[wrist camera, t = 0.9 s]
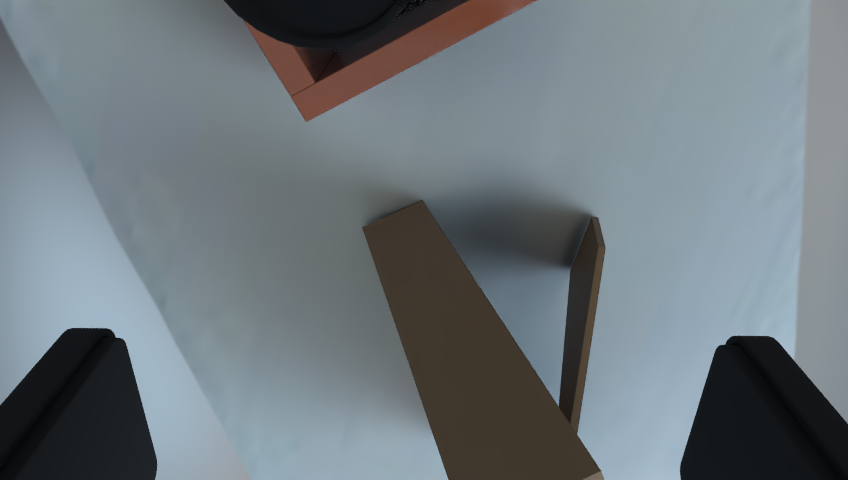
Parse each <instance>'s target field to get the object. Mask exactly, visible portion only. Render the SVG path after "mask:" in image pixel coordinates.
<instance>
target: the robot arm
mask: <svg viewBox="0 0 848 480" xmlns="http://www.w3.org/2000/svg"><path fill="white" fill-rule="evenodd" d="M156 471H157V459H156V455H155V451H154V447H153V443H152V440H151V436H150V432H149V429H148V425H147V421H146V417H145V413H144V409H143V406H142V402H141V398H140V394H139V391H138V387H137V383H136V379H135V376H134V372H133V368H132V364H131V361H130V357H129V353H128V349H127V346H126V343H125V341H124V340H123V339H121V338H116V337H115V335H114V333H113V332H112V331H111V330H110V329H106V328H105V329H103V328H101V329H100V328H71V329H68V330H66V331H65V332H64V333H63V334H62V335H61V336H60V337H59V338H58V340H57V341H56V342H55V343H54V344H53V345H52V347H51V348H50V349H49V350H48V351H47V352H46V353H45V354H44V356H43V357H42V358H41V359H40V360H39V362H38V363H37V364H36V365H35V366H34V367H33V368H32V370H31V371H30V372H29V373H28V374H27V375H26V376H25V378H24V379H23V380H22V381H21V382H20V383H19V384H18V386H17V387H16V388H15V389H14V390H13V391H12V393H11V394H10V395H9V396H8V397H7V398H6V399H5V401H4V402H3V403H2V404H1V405H0V480H155V477H156ZM680 475H681V480H848V424H847V423H846V421H845V420H844V419H843V418H842V417H841V416H840V414H839V413H838V412H837V411H836V410H835V408H834V407H833V406H832V405H831V404H830V403H829V401H828V400H827V399H826V398H825V397H824V396H823V394H822V393H821V392H820V391H819V390H818V389H817V387H816V386H815V385H814V384H813V382H812V381H811V380H810V379H809V378H808V377H807V375H806V374H805V373H804V372H803V371H802V370H801V368H800V367H799V366H798V365H797V364H796V362H795V361H794V360H793V359H792V358H791V357H790V355H789V354H788V353H787V352H786V351H785V349H784V348H783V347H782V346H781V345H780V344H779V342H778V341H776V340H775V339H774V338H772V337H769V336H733V337H730V338H729V339H728V340H727V342H726V344H725V345H720V346H718V347H717V349H716V351H715V353H714V357H713V360H712V363H711V366H710V370H709V373H708V376H707V380H706V383H705V386H704V389H703V393H702V396H701V399H700V402H699V406H698V409H697V412H696V416H695V419H694V422H693V425H692V429H691V432H690V435H689V438H688V442H687V445H686V448H685V452H684V455H683V458H682V461H681V466H680Z"/></svg>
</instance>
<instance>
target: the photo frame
mask: <svg viewBox="0 0 848 480" xmlns="http://www.w3.org/2000/svg"><path fill="white" fill-rule="evenodd" d="M362 228H363V231H364V234H365V237H366V240H367V243H368V246H369V249H370V251H371V254H372V257H373V260H374V263H375V266H376V269H377V272H378V275H379V278H380V281H381V284H382V286H383V289H384V292H385V295H386V298H387V301H388V304H389V307H390V310H391V313H392V316H393V319H394V322H395V324H396V327H397V330H398V333H399V336H400V339H401V342H402V345H403V348H404V351H405V354H406V357H407V360H408V362H409V365H410V368H411V371H412V374H413V377H414V380H415V383H416V386H417V389H418V392H419V395H420V398H421V400H422V403H423V406H424V409H425V412H426V415H427V418H428V421H429V424H430V427H431V430H432V433H433V435H434V438H435V441H436V444H437V447H438V450H439V453H440V456H441V459H442V462H443V465H444V468H445V471H446V473H447V476H448V479H449V480H604V478H603V476H602V473H601V470H600V469H599V467H598V466H597V464H596V463H595V461H594V460H593V458H592V457H591V455H590V454H589V452H588V451H587V449H586V448H585V446H584V445H583V443H582V441H581V440H580V438H579V437H578V435H577V432H578V426H579V419H580V412H581V406H582V399H583V393H584V386H585V380H586V373H587V366H588V360H589V353H590V347H591V340H592V334H593V327H594V320H595V314H596V307H597V301H598V294H599V288H600V281H601V274H602V268H603V261H604V255H605V244H604V240H603V236H602V232H601V228H600V224H599V220H598V218H597V217H593V216H592V217H591V219H590V222H589V224H588V227H587V229H586V232H585V234H584V237H583V240H582V242H581V245H580V247H579V250H578V252H577V255H576V257H575V260H574V262H573V265H572V267H571V270H570V282H569V293H568V305H567V317H566V329H565V341H564V352H563V364H562V376H561V388H560V400H559V407H558V405H557V404H556V402H555V401H554V399H553V398H552V396H551V395H550V393H549V391H548V390H547V388H546V387H545V385H544V384H543V382H542V381H541V379H540V378H539V376H538V375H537V373H536V372H535V370H534V369H533V367H532V366H531V364H530V363H529V361H528V360H527V358H526V357H525V355H524V354H523V352H522V351H521V349H520V348H519V346H518V345H517V343H516V342H515V340H514V338H513V337H512V335H511V334H510V332H509V331H508V329H507V328H506V326H505V325H504V323H503V322H502V320H501V319H500V317H499V316H498V314H497V313H496V311H495V310H494V308H493V307H492V305H491V304H490V302H489V301H488V299H487V298H486V296H485V295H484V293H483V292H482V290H481V288H480V287H479V285H478V284H477V282H476V281H475V279H474V278H473V276H472V275H471V273H470V272H469V270H468V269H467V267H466V266H465V264H464V263H463V261H462V260H461V258H460V257H459V255H458V254H457V252H456V251H455V249H454V248H453V246H452V245H451V243H450V242H449V240H448V238H447V237H446V235H445V234H444V232H443V231H442V229H441V228H440V226H439V225H438V223H437V222H436V220H435V219H434V217H433V216H432V214H431V213H430V211H429V210H428V208H427V207H426V205H425V204H424V202H423V201H419V202H417V203H415V204H413V205H411V206H408V207H406V208H404V209H402V210H399V211H397V212H395V213H393V214H391V215H388V216H386V217H384V218H382V219H379V220H377V221H375V222H373V223H370V224H368V225H366V226H364V227H362Z"/></svg>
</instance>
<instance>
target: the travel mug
mask: <svg viewBox="0 0 848 480" xmlns="http://www.w3.org/2000/svg"><path fill="white" fill-rule="evenodd" d="M224 1H225V2H226V3H227V4H228V5H229V7H230V8H231V9H232V10H233V11H234V12H235V13H236V14H237V15H238V16H239V17H241V18H242V19H243V20H245V21H246V22H247V23H248V24H250V25H251V26H252V27H254V28H255V29H256V30H258V31H260V32H262V33H264V34H266V35H268V36H270V37H271V38H273V39H275V40H277V41H280V42H284V43H287V44H290V45H293V46H297V47H301V48H311V49H320V50H323V49H334V48H344V47H347V46H350V45H354V44H357V43H360V42H363V41H365V40H367V39H369V38H371V37H373V36H375V35H376V34H378V33H380V32H382V31H383V30H384V29H385V28H386V27H387V26H388V25H389V24H390V22H391V21H392V20H393V19H394V18H395V17H396V16H397V15H398V14H399V13H400V12H401V11H402V10H403V8H404V7H405V6H406V5H407V3H408V2H410V1H411V0H224Z"/></svg>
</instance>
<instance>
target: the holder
mask: <svg viewBox="0 0 848 480" xmlns="http://www.w3.org/2000/svg"><path fill="white" fill-rule="evenodd" d="M535 1H536V0H429V1H427V2H425V3H423V4H421V5H420V6H418V7H416V8H414V9H412V10H411V11H409V12H407V13H405V14H403V15H401V16H400V17H398V18H396V19H394V20H392V21H391V22H390V24H389V25H388V26H387V27H386V28H385V29H384V30H383V31H382V32H380V33H378V34H376V35H375V36H373V37H371V38H369V39H367V40H365V41H363V42H360V43H357V44H354V45H350V46H347V47H344V48H342V49H340V50H338V51H336V50H335V48H334V49H323V50H320V49H311V48H301V47H297V46H293V45H290V44H287V43H284V42H280V41H277V40H275V39H273V38H271V37H270V36H268V35H266V34H264V33H262V32H260V31H258V30H256V29H255V28H254V27H252V26H251V25H250V24H248V23H247V22H246V21H245V20H243V21H244V22H245V24H246V26H247V27H248V29H249V31H250V32H251V34H252V35H253V37H254V39H255V40H256V42H257V43H258V45H259V47H260V48H261V50H262V51H263V53H264V55H265V56H266V58H267V59H268V61H269V63H270V64H271V66H272V68H273V69H274V71H275V72H276V74H277V76H278V77H279V79H280V80H281V82H282V84H283V85H284V87H285V88H286V90H287V92H288V93H289V95H290V96H291V98H292V100H293V102H294V103H295V105H296V106H297V108H298V110H299V111H300V113H301V114H302V116H303V118H304V119H305V121H306V122H307V121H309V120H311V119H313V118H315V117H317V116H319V115H320V114H322V113H324V112H326V111H328V110H330V109H332V108H334V107H336V106H338V105H339V104H341V103H343V102H345V101H347V100H349V99H351V98H353V97H355V96H356V95H358V94H360V93H362V92H364V91H366V90H368V89H370V88H372V87H374V86H375V85H377V84H379V83H381V82H383V81H385V80H387V79H389V78H391V77H392V76H394V75H396V74H398V73H400V72H402V71H404V70H406V69H408V68H410V67H411V66H413V65H415V64H417V63H419V62H421V61H423V60H425V59H427V58H428V57H430V56H432V55H434V54H436V53H438V52H440V51H442V50H444V49H446V48H447V47H449V46H451V45H453V44H455V43H457V42H459V41H461V40H463V39H464V38H466V37H468V36H470V35H472V34H474V33H476V32H478V31H480V30H482V29H483V28H485V27H487V26H489V25H491V24H493V23H495V22H497V21H499V20H500V19H502V18H504V17H506V16H508V15H510V14H512V13H514V12H516V11H518V10H519V9H521V8H523V7H525V6H527V5H529V4H531V3H533V2H535Z"/></svg>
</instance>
